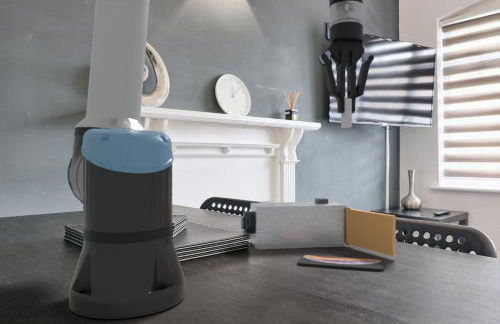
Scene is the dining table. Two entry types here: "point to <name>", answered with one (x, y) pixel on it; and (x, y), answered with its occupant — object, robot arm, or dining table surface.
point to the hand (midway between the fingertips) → (346, 127)
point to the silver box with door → (296, 224)
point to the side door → (371, 231)
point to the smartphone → (342, 263)
